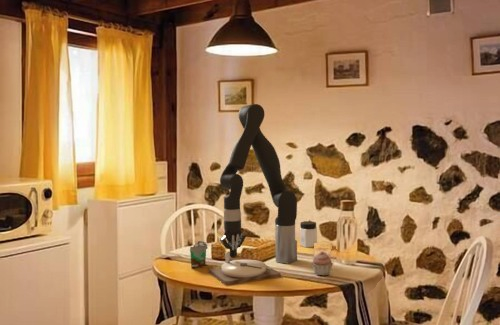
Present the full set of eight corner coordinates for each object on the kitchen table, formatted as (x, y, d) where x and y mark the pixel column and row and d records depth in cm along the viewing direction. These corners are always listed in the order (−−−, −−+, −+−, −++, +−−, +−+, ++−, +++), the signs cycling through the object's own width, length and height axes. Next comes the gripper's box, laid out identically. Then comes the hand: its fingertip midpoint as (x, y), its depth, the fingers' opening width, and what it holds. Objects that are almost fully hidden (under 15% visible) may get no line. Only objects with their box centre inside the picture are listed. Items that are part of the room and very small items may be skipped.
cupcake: (307, 275, 231) (307, 252, 230) (317, 270, 239) (317, 247, 238) (327, 278, 226) (327, 255, 225) (337, 273, 233) (337, 250, 233)
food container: (203, 269, 242) (203, 247, 241) (190, 269, 243) (189, 247, 242) (211, 262, 254) (210, 241, 253) (198, 261, 255) (197, 240, 254)
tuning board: (260, 265, 248) (260, 261, 247) (280, 276, 229) (280, 272, 229) (208, 272, 237) (208, 268, 237) (225, 285, 219) (225, 281, 219)
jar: (296, 245, 284) (296, 222, 283) (308, 242, 289) (308, 220, 288) (308, 248, 277) (308, 225, 276) (320, 246, 282) (320, 223, 280)
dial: (254, 262, 246) (253, 247, 245) (273, 273, 229) (273, 257, 228) (214, 268, 238) (214, 252, 237) (232, 280, 221) (232, 263, 220)
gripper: (239, 215, 245) (240, 253, 247) (215, 219, 237) (216, 258, 239) (249, 218, 239) (250, 256, 241) (224, 222, 231) (225, 262, 233)
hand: (233, 257), depth 240 cm, fingers closed
